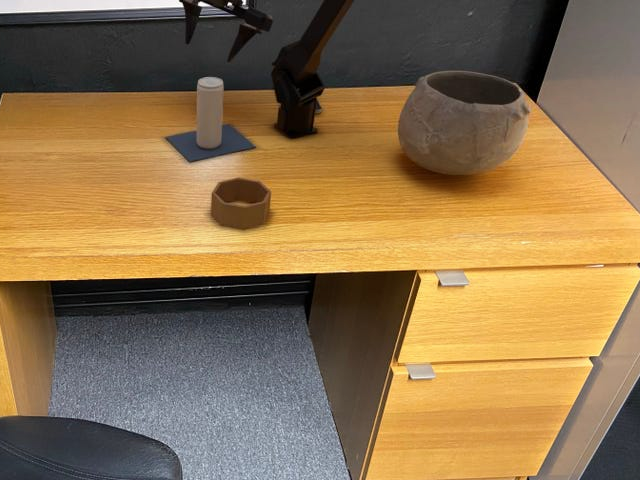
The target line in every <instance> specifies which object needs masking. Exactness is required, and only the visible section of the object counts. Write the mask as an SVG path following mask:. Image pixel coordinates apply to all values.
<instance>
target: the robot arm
mask: <svg viewBox="0 0 640 480" xmlns="http://www.w3.org/2000/svg"><path fill="white" fill-rule="evenodd" d="M178 2H179V3H180V4H182V6H183V10H184V17H185V37H184V38H185V39H184V40H185V41H184V43H185V45H190V43H191V41H192V39H193V37H194V33H195V30H196V28H197V24H198V21H199V18H200V15H201V13H202V9H203V6H202V5H199V3H203V4H204V5H205V4H206V5H207V6H208V5H209V6H210V7H212V8H215V9H218V10H220V11H223V12H224V13H228V14H230V15H232V16H235V17H237V18H240V19H242V20H244V24H242V23H239V27H238V32H237V35H236V37H235V40H234V42H233V44H232V47H231V48H230V50H229V53H228V56H227V60H226V62H227V63H231V62H232V61H233V60H234V58H235V57H236V56H237V55H238V54H239V52H240V51H241V50H242V49H243V48H244V47H245V46H246V44H247V43H248V42H249V41H250V40H251V39H253V37H254V36H256V35H257V34H258V35H262V33H263V32H267V33H270V31H271V28H272V26H273V22H274V19H273V15H271V14H269V13H266V12H263V11H261V10H259V9H256V8H255V7H254V8H253V7H251V6H248V8H244V7H243V4H244V1H243V0H178ZM354 2H355V0H322V2H321V4H320V5H319V7H318V9H317V11H316V12H315V14H314V15H313V17H312V18H311V20H310V22H309V23H308V25H307V27H306V29H305V30H304V32H303V33H302V35H301V37H300V38H298V39H297V40H295V41H293V42H290V43H288V44H286V45H284V46H282V47H281V48H280V50H279V52H278V55H277V57H276V59H275V60H274V61H273V62H272V63H271V66H272V69H271V72H270V77H271V80H272V84H273V88H274V94H275V95H274V96H275V99H276V103H277V104H280V105H279V107H278V111H277V120H276V121H277V122H275V123H274V124H273V127H274V128H276V129H277V130H278V131H279V132H281V133H282V134H283V135H284V136H286V137H287V138H289V139H296V138H300V137H305V136H308V135H314V134H317V133H318V130H319V129H317V128H316V127H315V125H314V124H315V118H316V113H315V111H316V104H317V100H318V97H321V96H322V95H323V93H324V91H325V89H326V85H325V83H324V81H323V80H322V78H321V76H320V74H319V73H318V70H319V67H320V65H321V57H322V52H323V50H324V49H325V47H326V46H327V44H328V42H329V41H330V39H331V37H332V36H333V34H334V33H335V32H336V30H337V28H338V27H339V26H340V24H341V22H342V21H343V19H344V17H345V16H346V14H347V13H348V11H349V9H351V7H352V5H353V4H354ZM229 4H231V6H232V7H231V6H229ZM316 98H317V99H316Z"/></svg>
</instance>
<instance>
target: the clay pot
mask: <svg viewBox="0 0 640 480" xmlns="http://www.w3.org/2000/svg"><path fill="white" fill-rule="evenodd" d="M400 111H401V112H400V115H399V119H398V123H397V138H398V141H399V145H400V147H401V149H402V150H403V152H404V153H405V154H406V156H407V158H408V159H410V160H411V161H412V162H414V163H415V164H417V165H418V166H420V167H422V168H423V169H426V170H428V171H431V172H433V173H437V174H442V175H447V176H473V175H481V174H485V173H488V172H491V171H493V170H495V169H498V168H499V167H501V166H502V165H504V164H505V163H508V161H509V160H510V159H512V158H513V157H514V156H515V155H516V154H517V152H518V151H519V150H520V147H521V146H522V144H523V143H524V140H525V138H526V135H527V132H528V128H529V120H530V115H531V114H532V112H533V111H532V107H531V105H530V103H529V102H528V100H527V98H526V96H525V93H524V91H522V89H521V87H520V86H518V85H517V84H516V83H514V82H512V81H510V80H508V79H505V78H502V77H499V76H496V75H493V74H492V75H491V74H488V73H487V74H486V73H480V72H476V71H475V72H474V71H469V70H467V71H466V70H442V71H441V70H440V71H436V72H433V73H430V74H426V75H425V76H420V77H419V78H418V80H417V81H416V82H415V83H414V88H413V90H412V91H411V93H410V94H409V95H408V97H407V99H406V100H405V102H404V104H403V107H402V109H401V110H400Z"/></svg>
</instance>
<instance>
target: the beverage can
mask: <svg viewBox="0 0 640 480" xmlns="http://www.w3.org/2000/svg"><path fill="white" fill-rule="evenodd" d="M224 89H225V86H224V81H223V79H221V78H220V77H215V76H205V77H201V78H199V79H198V80H197V84H196V131H197V144H198V145H199V147H201V148H203V149H215V148H217V147H218V146H219V145H220V144H221V139H222V125H223V115H224V113H223V112H224V92H225V90H224Z"/></svg>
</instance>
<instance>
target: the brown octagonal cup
mask: <svg viewBox="0 0 640 480" xmlns="http://www.w3.org/2000/svg"><path fill="white" fill-rule="evenodd" d="M271 199H272V191H271V190H270V189H269V188H268V187H267V186H266V185H265V184H264V183H263V182H262V181H260V180H256V179H250V178H244V177H233V178H230V179H225V180H222V181H218V182H217V183H216V186H215V187H214V188H213V190H212V191H211V199H210V200H211V202H210V215H211V216H212V217H213V218H214V219H215V220H216V221H217V222H218V223H219V224H220V225H221V226H223V227H228V228H229V227H230V228H234V229H238V230H246V229H250V228H254V227H258V226H262V225H264V224H265V222H266V220H267V218H268V216H269V214H270V211H271V210H270V209H271ZM235 201H241V202H246V203H251V204H247V205H241V204H235V203H231V202H235Z"/></svg>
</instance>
